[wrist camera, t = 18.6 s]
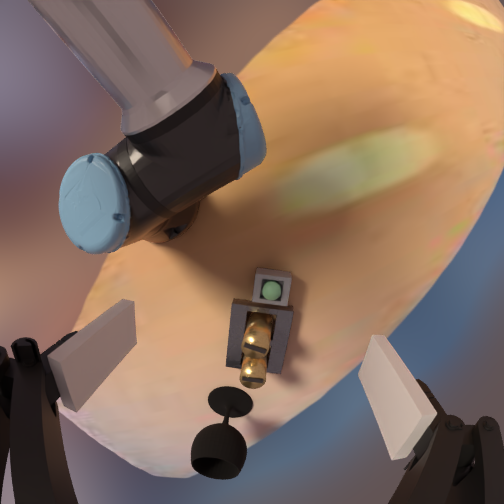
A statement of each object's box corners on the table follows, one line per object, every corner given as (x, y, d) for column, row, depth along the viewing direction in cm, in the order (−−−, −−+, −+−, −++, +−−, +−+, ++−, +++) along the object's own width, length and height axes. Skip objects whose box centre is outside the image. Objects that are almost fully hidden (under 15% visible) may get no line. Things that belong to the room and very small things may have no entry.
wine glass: (247, 383, 54) (235, 454, 34) (256, 415, 56) (249, 481, 36) (202, 387, 55) (178, 452, 36) (215, 417, 57) (198, 480, 37)
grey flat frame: (227, 359, 53) (225, 366, 50) (233, 298, 50) (231, 303, 48) (280, 366, 52) (280, 373, 50) (292, 306, 50) (293, 311, 47)
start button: (261, 294, 47) (261, 299, 45) (264, 278, 46) (263, 282, 44) (279, 297, 46) (279, 301, 44) (281, 280, 46) (282, 284, 44)
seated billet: (246, 326, 51) (237, 354, 41) (253, 306, 50) (245, 332, 40) (267, 333, 51) (263, 363, 41) (275, 314, 50) (273, 342, 40)
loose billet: (244, 356, 52) (238, 387, 42) (246, 338, 52) (240, 368, 42) (265, 359, 52) (263, 391, 42) (268, 341, 51) (267, 372, 41)
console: (253, 293, 50) (252, 301, 46) (257, 267, 49) (255, 273, 45) (286, 297, 49) (287, 306, 45) (290, 271, 48) (291, 278, 44)
